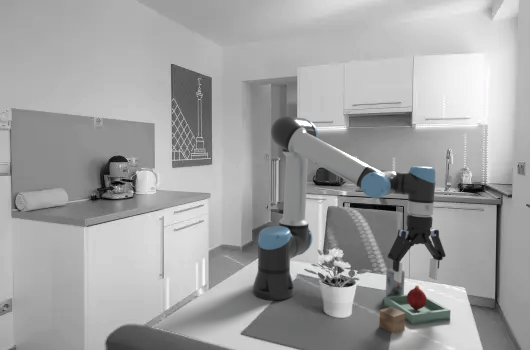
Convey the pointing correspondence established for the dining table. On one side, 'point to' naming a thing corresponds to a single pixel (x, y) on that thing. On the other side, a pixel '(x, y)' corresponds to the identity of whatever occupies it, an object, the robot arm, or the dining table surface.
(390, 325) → the walnut block
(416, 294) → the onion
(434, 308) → the tray
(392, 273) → the metal can
